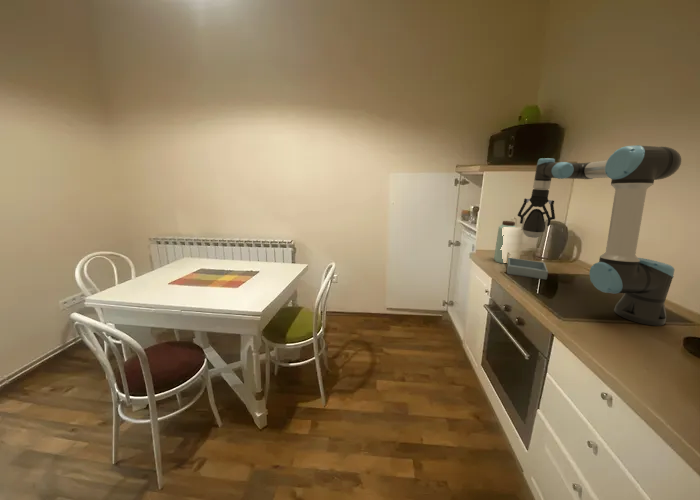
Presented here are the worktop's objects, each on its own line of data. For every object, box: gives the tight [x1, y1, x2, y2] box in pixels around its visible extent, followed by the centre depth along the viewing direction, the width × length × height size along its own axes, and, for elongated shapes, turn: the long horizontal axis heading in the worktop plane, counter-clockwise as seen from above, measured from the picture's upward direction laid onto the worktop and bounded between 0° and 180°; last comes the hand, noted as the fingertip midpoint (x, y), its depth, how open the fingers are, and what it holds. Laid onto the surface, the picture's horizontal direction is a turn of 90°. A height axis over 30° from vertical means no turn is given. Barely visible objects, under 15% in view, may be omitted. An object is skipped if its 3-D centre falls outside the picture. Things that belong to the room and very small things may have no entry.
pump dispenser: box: [522, 208, 549, 239], centre depth 168 cm, size 10×10×15 cm
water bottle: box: [493, 220, 516, 264], centre depth 190 cm, size 10×10×25 cm
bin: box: [506, 257, 549, 281], centre depth 174 cm, size 19×19×4 cm
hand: (533, 230), depth 169 cm, fingers closed on pump dispenser, 10 cm apart
